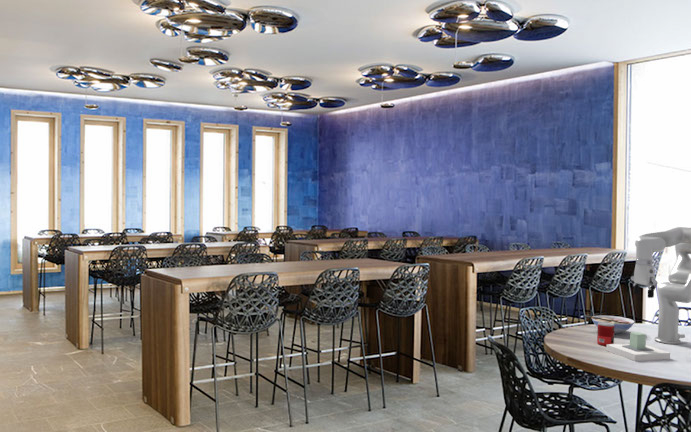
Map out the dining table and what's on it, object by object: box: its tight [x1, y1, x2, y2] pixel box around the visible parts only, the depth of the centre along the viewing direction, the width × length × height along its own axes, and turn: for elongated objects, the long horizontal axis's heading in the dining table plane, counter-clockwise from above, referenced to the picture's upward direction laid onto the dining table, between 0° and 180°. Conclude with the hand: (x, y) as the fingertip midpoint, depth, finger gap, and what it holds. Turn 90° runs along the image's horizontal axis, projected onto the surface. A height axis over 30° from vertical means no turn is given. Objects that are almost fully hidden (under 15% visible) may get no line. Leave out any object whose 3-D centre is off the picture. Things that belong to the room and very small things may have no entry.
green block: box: [629, 331, 647, 349], centre depth 307 cm, size 5×5×7 cm
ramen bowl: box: [584, 315, 636, 335], centre depth 357 cm, size 25×23×8 cm
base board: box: [605, 342, 671, 362], centre depth 307 cm, size 20×20×3 cm
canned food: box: [596, 322, 615, 347], centre depth 327 cm, size 8×8×11 cm
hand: (643, 295), depth 322 cm, fingers open, 9 cm apart
